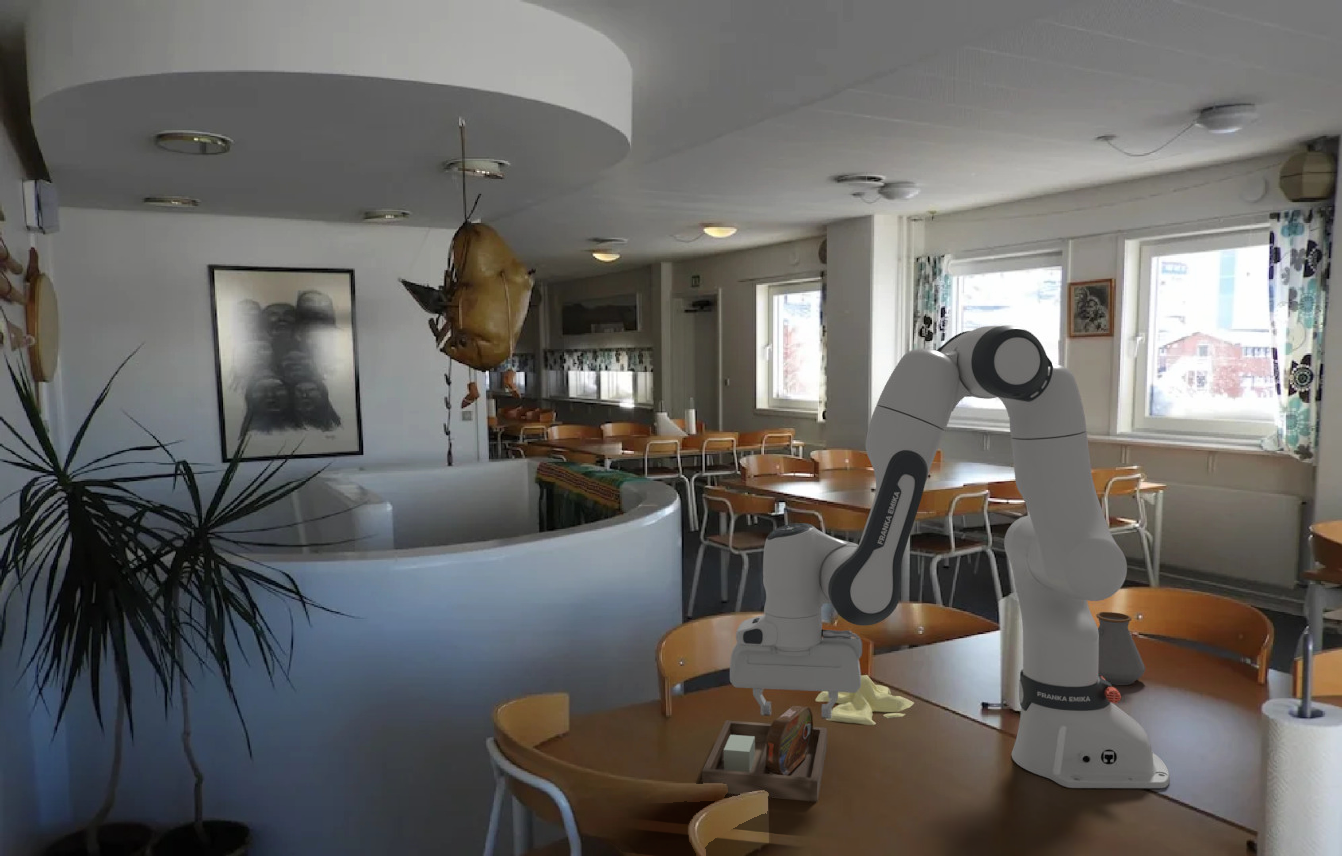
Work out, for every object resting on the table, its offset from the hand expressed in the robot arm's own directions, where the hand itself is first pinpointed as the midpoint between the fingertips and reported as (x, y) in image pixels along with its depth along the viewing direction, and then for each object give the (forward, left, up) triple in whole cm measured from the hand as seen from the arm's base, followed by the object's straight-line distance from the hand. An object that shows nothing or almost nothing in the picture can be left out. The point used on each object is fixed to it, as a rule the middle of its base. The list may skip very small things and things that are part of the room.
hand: (796, 715), depth 142 cm
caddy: (+5, 0, -10) cm, 11 cm away
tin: (+2, 0, -8) cm, 8 cm away
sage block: (+9, 0, -9) cm, 12 cm away
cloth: (-11, -33, -10) cm, 36 cm away
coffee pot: (-53, -54, -10) cm, 77 cm away
